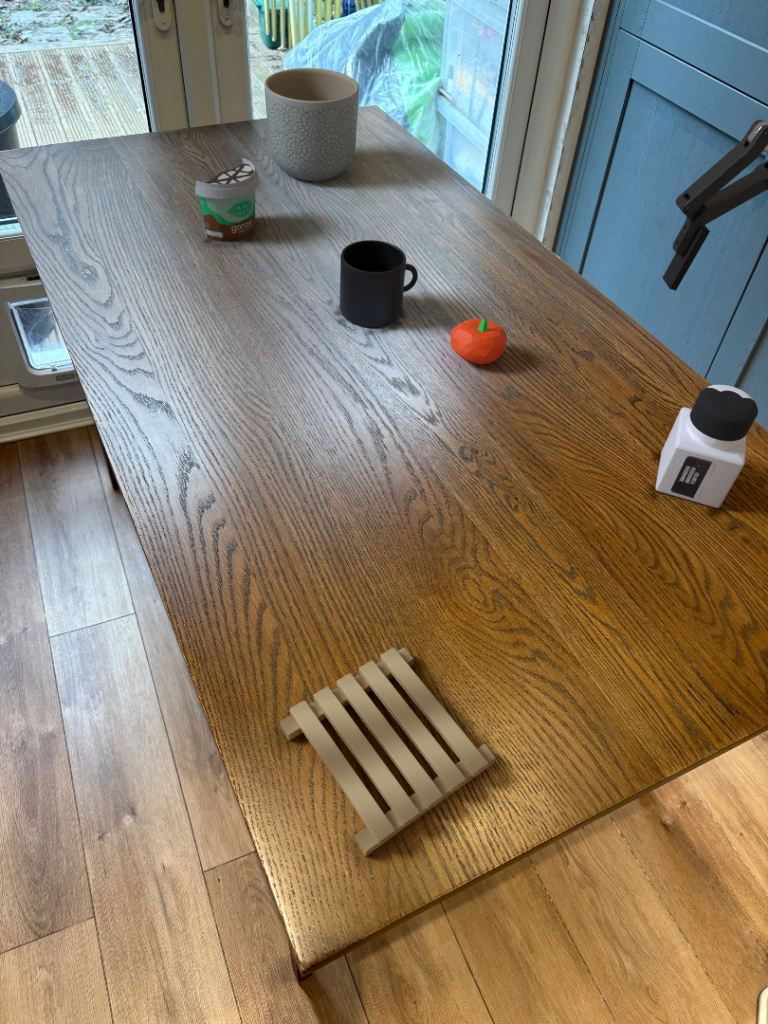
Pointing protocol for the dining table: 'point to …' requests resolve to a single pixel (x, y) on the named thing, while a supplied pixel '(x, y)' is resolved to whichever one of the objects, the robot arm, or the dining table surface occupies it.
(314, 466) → the dining table surface
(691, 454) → the container
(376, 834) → the rack
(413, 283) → the mug
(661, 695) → the dining table surface
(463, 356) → the pumpkin
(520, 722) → the dining table surface
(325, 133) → the planter
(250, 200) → the food container
